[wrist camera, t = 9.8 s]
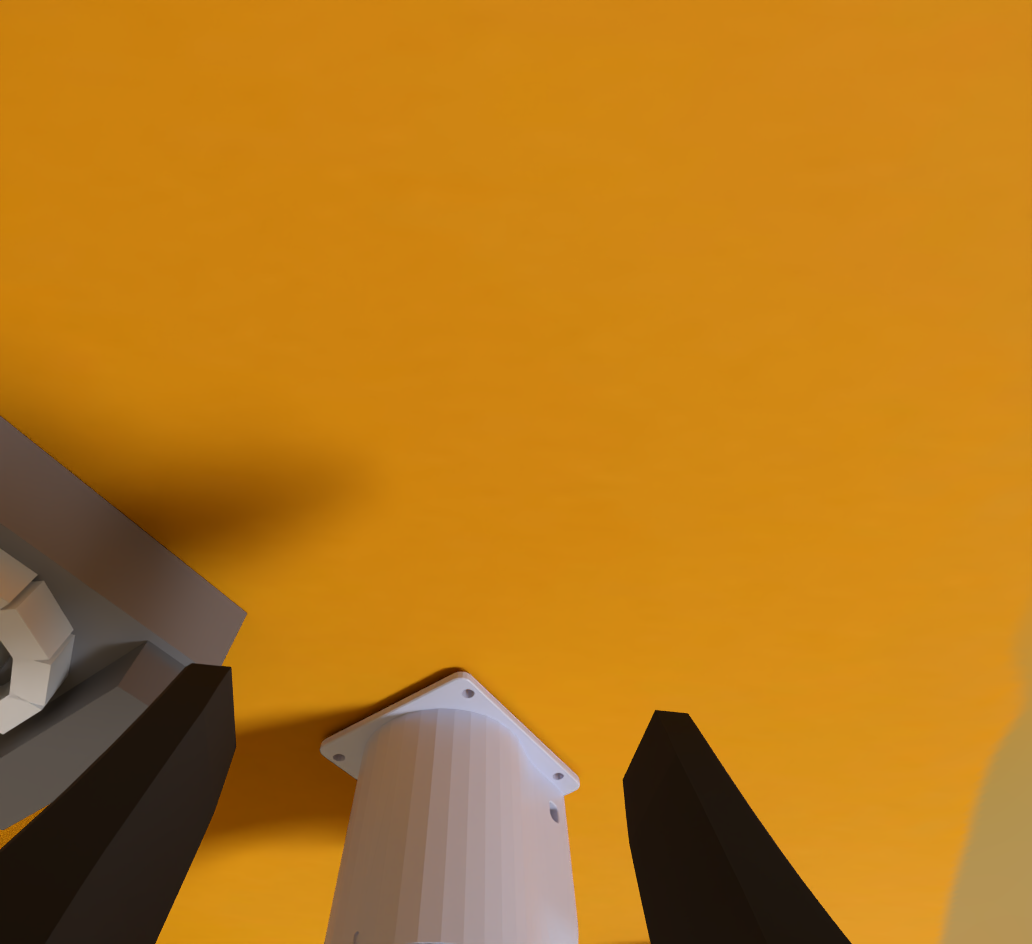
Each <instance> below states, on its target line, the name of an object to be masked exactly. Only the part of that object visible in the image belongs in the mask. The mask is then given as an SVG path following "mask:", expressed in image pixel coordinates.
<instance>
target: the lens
mask: <svg viewBox="0 0 1032 944" xmlns="http://www.w3.org/2000/svg"><path fill="white" fill-rule="evenodd" d="M9 655H10V653H9V652H8V651H7V649H6V648H5V646H4V645H3V643H2V642H1V641H0V669H1V668H2V667H3V665H4V664H5V663H6V661H7V660H8V657H9Z"/></svg>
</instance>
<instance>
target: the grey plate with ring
mask: <svg viewBox="0 0 1032 944" xmlns="http://www.w3.org/2000/svg"><path fill="white" fill-rule="evenodd" d="M246 615H247V613H246V612H245V611H244V610H242V609H241V608H240V607H239V606H237V605H236V604H235V603H234V602H232V601H231V600H230V599H229V598H227V597H226V596H225V595H224V594H222V593H221V592H220V591H219V590H217V589H216V588H215V587H214V586H212V585H211V584H210V583H209V582H207V581H206V580H205V579H204V578H202V577H201V576H200V575H199V574H197V573H196V572H195V571H194V570H192V569H191V568H190V567H189V566H187V565H186V564H185V563H183V562H182V561H181V560H180V559H178V558H177V557H176V556H175V555H173V554H172V553H171V552H170V551H168V550H167V549H166V548H165V547H163V546H162V545H161V544H160V543H158V542H157V541H156V540H155V539H153V538H152V537H151V536H150V535H148V534H147V533H146V532H145V531H143V530H142V529H141V528H140V527H138V526H137V525H136V524H135V523H133V522H132V521H131V520H130V519H128V518H127V517H126V516H125V515H123V514H122V513H121V512H120V511H118V510H117V509H116V508H115V507H113V506H112V505H111V504H110V503H108V502H107V501H106V500H105V499H103V498H102V497H101V496H100V495H98V494H97V493H96V492H95V491H93V490H92V489H91V488H90V487H88V486H87V485H86V484H85V483H83V482H82V481H81V480H80V479H78V478H77V477H76V476H75V475H73V474H72V473H71V472H70V471H68V470H67V469H66V468H65V467H63V466H62V465H61V464H60V463H58V462H57V461H56V460H55V459H53V458H52V457H51V456H50V455H48V454H47V453H46V452H45V451H43V450H42V449H41V448H40V447H38V446H37V445H36V444H35V443H33V442H32V441H31V440H30V439H28V438H27V437H26V436H25V435H23V434H22V433H21V432H20V431H18V430H17V429H16V428H15V427H13V426H12V425H11V424H10V423H8V422H7V421H6V420H5V419H3V418H2V417H1V416H0V641H1V642H2V643H3V645H4V646H5V648H6V649H7V651H8V652H9V653H10V655H9V657H8V660H7V661H6V663H5V664H4V665H3V667H2V668H1V669H0V829H1V830H4V829H6V828H8V827H10V826H11V825H13V824H15V823H17V822H18V821H20V820H22V819H24V818H26V817H27V816H29V815H31V814H33V813H34V812H36V811H38V810H40V809H42V808H43V807H45V806H47V805H49V804H50V803H52V802H53V801H54V800H55V799H56V798H57V797H58V796H59V795H60V794H61V793H62V792H64V791H65V790H66V789H67V788H68V787H69V786H70V785H71V784H72V783H73V782H74V781H75V780H76V779H77V778H78V777H79V776H80V775H81V774H82V773H83V772H84V771H85V770H86V769H87V768H88V767H89V766H90V765H91V764H92V763H93V762H94V761H95V760H96V759H97V758H98V757H99V756H100V755H101V754H103V753H104V752H105V751H106V750H107V749H108V748H109V747H110V746H111V745H112V744H113V743H114V742H115V741H116V740H117V739H118V738H119V737H120V736H121V735H122V734H123V732H124V731H125V730H126V729H127V728H128V727H129V726H130V725H131V724H132V723H133V722H134V721H135V720H136V719H137V718H138V717H139V716H140V715H141V714H142V713H143V712H144V711H145V710H146V709H147V708H148V707H149V706H150V705H151V703H152V702H153V701H154V700H155V699H156V698H157V697H158V696H159V695H160V694H161V693H162V692H163V691H164V690H165V688H166V687H167V686H168V685H169V684H170V683H171V682H172V681H173V680H174V679H175V678H176V676H177V675H178V674H179V673H180V672H181V671H182V670H183V669H184V668H185V667H186V666H188V665H189V664H191V663H197V664H207V665H217V666H221V665H222V663H223V661H224V659H225V657H226V655H227V653H228V651H229V649H230V647H231V645H232V643H233V641H234V639H235V637H236V635H237V633H238V631H239V629H240V627H241V625H242V623H243V621H244V619H245V617H246Z"/></svg>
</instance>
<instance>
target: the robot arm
mask: <svg viewBox="0 0 1032 944" xmlns="http://www.w3.org/2000/svg"><path fill="white" fill-rule="evenodd" d="M466 689H470V690H466ZM235 748H236V737H235V721H234V704H233V687H232V671H231V667H226V666H217V665H207V664H197V663H191V664H189V665H188V666H186V667H185V668H184V669H183V670H182V671H181V672H180V673H179V674H178V675H177V676H176V678H175V679H174V680H173V681H172V682H171V683H170V684H169V685H168V686H167V687H166V688H165V690H164V691H163V692H162V693H161V694H160V695H159V696H158V697H157V698H156V699H155V700H154V701H153V702H152V703H151V705H150V706H149V707H148V708H147V709H146V710H145V711H144V712H143V713H142V714H141V715H140V716H139V717H138V718H137V719H136V720H135V721H134V722H133V723H132V724H131V725H130V726H129V727H128V728H127V729H126V730H125V731H124V732H123V734H122V735H121V736H120V737H119V738H118V739H117V740H116V741H115V742H114V743H113V744H112V745H111V746H110V747H109V748H108V749H107V750H106V751H105V752H104V753H103V754H101V755H100V756H99V757H98V758H97V759H96V760H95V761H94V762H93V763H92V764H91V765H90V766H89V767H88V768H87V769H86V770H85V771H84V772H83V773H82V774H81V775H80V776H79V777H78V778H77V779H76V780H75V781H74V782H73V783H72V784H71V785H70V786H69V787H68V788H67V789H66V790H65V791H64V792H62V793H61V794H60V795H59V796H58V797H57V798H56V799H55V800H54V801H53V802H52V803H51V804H50V805H49V806H47V807H46V808H45V809H44V810H43V811H42V812H41V813H40V814H39V815H38V816H36V817H35V818H34V819H33V820H32V821H31V822H30V823H29V824H28V825H27V826H25V827H24V828H23V829H22V830H21V831H20V832H19V833H18V834H17V835H16V836H14V837H13V838H12V839H11V840H10V841H9V842H8V843H7V844H6V845H5V846H3V847H2V848H1V849H0V944H155V943H156V941H157V938H158V936H159V934H160V932H161V930H162V927H163V925H164V923H165V921H166V919H167V916H168V914H169V912H170V910H171V908H172V905H173V903H174V901H175V899H176V896H177V894H178V892H179V890H180V888H181V885H182V883H183V881H184V879H185V877H186V874H187V872H188V870H189V868H190V866H191V863H192V861H193V859H194V857H195V854H196V852H197V850H198V848H199V845H200V843H201V841H202V839H203V836H204V834H205V832H206V830H207V827H208V825H209V823H210V821H211V818H212V816H213V814H214V811H215V808H216V805H217V802H218V799H219V797H220V794H221V791H222V788H223V785H224V782H225V779H226V776H227V773H228V770H229V767H230V764H231V761H232V758H233V755H234V751H235ZM320 753H321V754H322V755H323V756H324V757H326V758H327V759H329V760H330V761H331V762H333V763H334V764H336V765H337V766H338V767H340V768H341V769H343V770H344V771H345V772H347V773H348V774H350V775H351V776H352V777H354V778H355V779H357V785H356V790H355V795H354V799H353V804H352V809H351V814H350V819H349V824H348V829H347V834H346V839H345V844H344V849H343V854H342V858H341V863H340V868H339V873H338V878H337V883H336V888H335V893H334V898H333V903H332V908H331V913H330V918H329V922H328V927H327V932H326V937H325V942H324V944H578V921H577V912H576V903H575V894H574V885H573V876H572V866H571V857H570V848H569V839H568V830H567V821H566V812H565V802H564V795H566V794H569V793H571V792H574V791H575V790H577V789H578V788H579V787H580V782H579V777H578V776H577V775H576V774H575V773H574V772H573V771H572V770H571V769H570V768H569V767H568V766H567V765H566V764H565V763H564V762H562V761H561V760H560V759H559V758H558V757H557V756H556V755H555V754H554V753H553V752H552V751H551V750H550V749H549V748H548V747H547V746H546V745H545V744H543V743H542V742H541V741H540V740H539V739H538V738H537V737H536V736H535V735H534V734H533V733H532V732H531V731H530V730H529V729H528V728H527V727H525V726H524V725H523V724H522V723H521V722H520V721H519V720H518V719H517V718H516V717H515V716H514V715H513V714H512V713H511V712H510V711H509V710H507V709H506V708H505V707H504V706H503V705H502V704H501V703H500V702H499V701H498V700H497V699H496V698H495V697H494V696H493V695H492V694H491V693H489V692H488V691H487V690H486V689H485V688H484V687H483V686H482V685H481V684H480V683H479V682H478V681H477V680H476V679H475V678H474V677H473V676H471V675H470V674H469V673H467V672H456V673H453V674H451V675H449V676H447V677H445V678H443V679H442V680H440V681H438V682H436V683H434V684H432V685H430V686H428V687H426V688H424V689H422V690H420V691H418V692H416V693H414V694H412V695H410V696H408V697H406V698H404V699H402V700H400V701H399V702H397V703H395V704H393V705H391V706H389V707H387V708H385V709H383V710H381V711H379V712H377V713H375V714H373V715H371V716H369V717H367V718H365V719H363V720H361V721H359V722H357V723H355V724H354V725H352V726H350V727H348V728H346V729H344V730H342V731H340V732H338V733H336V734H334V735H332V736H330V737H328V738H326V739H325V740H323V741H322V744H321V747H320ZM623 788H624V798H625V809H626V819H627V827H628V836H629V844H630V849H631V854H632V859H633V863H634V868H635V873H636V878H637V882H638V887H639V892H640V897H641V901H642V906H643V910H644V915H645V919H646V924H647V929H648V933H649V938H650V942H651V944H852V943H851V942H850V941H849V940H848V939H847V937H846V936H845V935H844V934H843V932H842V931H841V930H840V929H839V927H838V926H837V925H836V923H835V922H834V921H833V920H832V918H831V917H830V916H829V915H828V913H827V912H826V911H825V909H824V908H823V907H822V905H821V904H820V903H819V901H818V900H817V899H816V898H815V896H814V895H813V894H812V892H811V891H810V890H809V888H808V887H807V886H806V884H805V883H804V882H803V880H802V879H801V878H800V876H799V875H798V874H797V872H796V871H795V870H794V868H793V867H792V865H791V864H790V863H789V861H788V860H787V859H786V857H785V856H784V854H783V853H782V852H781V850H780V849H779V847H778V846H777V845H776V843H775V842H774V840H773V839H772V837H771V836H770V835H769V833H768V832H767V830H766V829H765V827H764V826H763V825H762V823H761V822H760V820H759V819H758V818H757V816H756V815H755V813H754V812H753V810H752V809H751V807H750V806H749V804H748V803H747V801H746V800H745V799H744V797H743V796H742V794H741V793H740V791H739V790H738V788H737V787H736V785H735V784H734V782H733V781H732V779H731V778H730V776H729V775H728V773H727V772H726V770H725V769H724V767H723V766H722V764H721V763H720V761H719V759H718V758H717V756H716V755H715V753H714V752H713V750H712V749H711V747H710V746H709V744H708V743H707V741H706V740H705V738H704V737H703V735H702V734H701V732H700V731H699V729H698V728H697V726H696V725H695V723H694V722H693V720H692V719H691V717H690V716H689V714H688V713H678V712H669V711H659V710H655V712H654V714H653V716H652V718H651V720H650V723H649V725H648V727H647V729H646V731H645V733H644V735H643V738H642V740H641V742H640V744H639V746H638V748H637V750H636V752H635V755H634V757H633V759H632V761H631V763H630V765H629V767H628V770H627V772H626V774H625V776H624V778H623Z"/></svg>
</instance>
